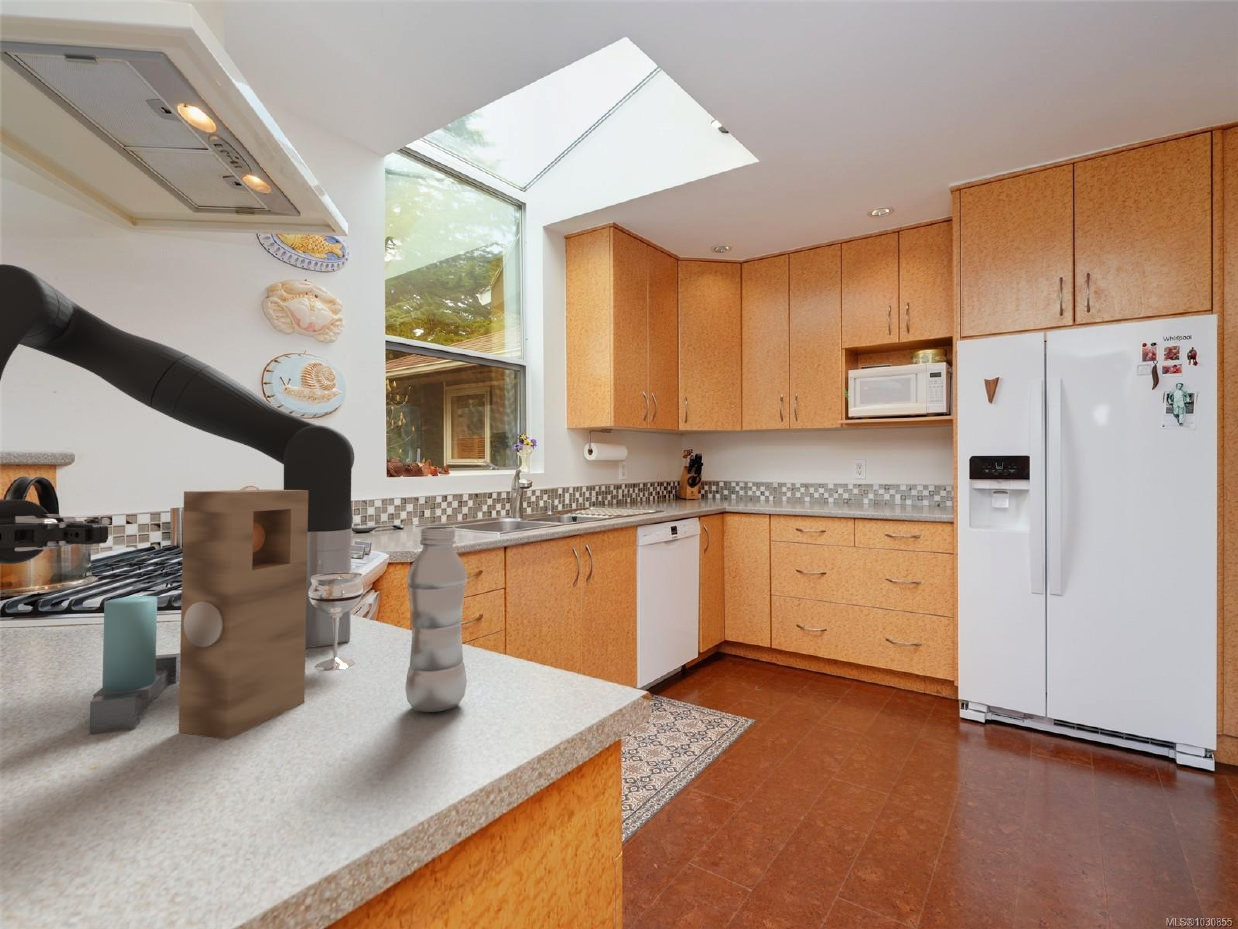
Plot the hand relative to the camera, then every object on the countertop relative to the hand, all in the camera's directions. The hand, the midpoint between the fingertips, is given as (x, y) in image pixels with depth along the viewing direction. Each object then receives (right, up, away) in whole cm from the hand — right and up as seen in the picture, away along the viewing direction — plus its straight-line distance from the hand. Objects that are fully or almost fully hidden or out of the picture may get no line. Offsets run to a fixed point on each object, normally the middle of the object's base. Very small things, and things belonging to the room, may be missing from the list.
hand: (100, 534), depth 67 cm
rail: (+4, -19, 0) cm, 19 cm away
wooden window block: (+18, -19, -3) cm, 26 cm away
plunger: (+15, -2, -2) cm, 16 cm away
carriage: (+6, -17, -3) cm, 18 cm away
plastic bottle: (+37, -20, 0) cm, 42 cm away
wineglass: (+19, -20, +15) cm, 31 cm away
